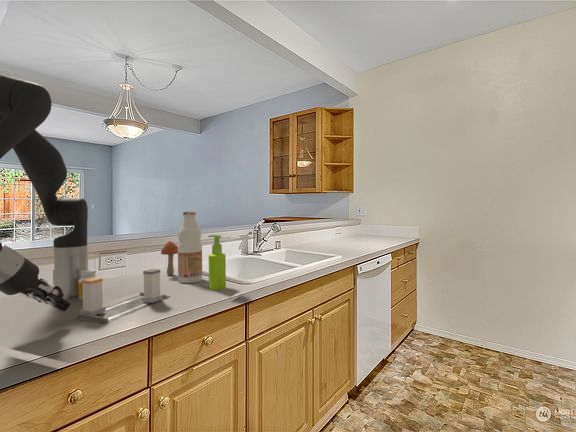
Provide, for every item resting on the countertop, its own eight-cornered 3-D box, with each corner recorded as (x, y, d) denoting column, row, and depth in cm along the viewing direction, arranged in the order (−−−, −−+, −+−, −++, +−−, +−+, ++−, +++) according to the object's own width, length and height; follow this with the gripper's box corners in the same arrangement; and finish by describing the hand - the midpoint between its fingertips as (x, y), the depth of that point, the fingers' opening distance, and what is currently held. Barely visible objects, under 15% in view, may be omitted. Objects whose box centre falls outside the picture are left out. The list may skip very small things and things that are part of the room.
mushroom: (173, 272, 140) (172, 239, 139) (184, 274, 135) (183, 240, 135) (157, 275, 133) (156, 241, 133) (167, 277, 129) (167, 242, 128)
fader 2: (142, 301, 92) (141, 271, 92) (152, 297, 96) (151, 268, 96) (152, 302, 91) (152, 272, 91) (162, 298, 95) (161, 269, 94)
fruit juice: (173, 283, 120) (172, 212, 119) (185, 277, 129) (184, 211, 128) (195, 284, 118) (194, 212, 117) (206, 278, 127) (205, 211, 126)
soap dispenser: (217, 287, 114) (216, 233, 113) (229, 290, 109) (228, 235, 109) (203, 290, 109) (203, 235, 108) (215, 294, 105) (215, 236, 104)
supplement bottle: (84, 304, 95) (83, 273, 94) (75, 301, 97) (74, 271, 97) (102, 299, 100) (101, 270, 99) (93, 297, 102) (92, 268, 102)
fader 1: (80, 314, 82) (79, 280, 81) (94, 309, 85) (93, 276, 85) (91, 316, 80) (90, 281, 80) (105, 311, 84) (104, 278, 84)
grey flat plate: (73, 323, 80) (73, 314, 80) (144, 296, 102) (144, 290, 102) (104, 328, 76) (104, 319, 76) (171, 300, 99) (171, 293, 99)
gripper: (39, 256, 64) (95, 296, 76) (0, 252, 69) (58, 291, 81) (10, 287, 59) (74, 325, 71) (-30, 281, 64) (37, 318, 76)
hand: (66, 307), depth 76 cm, fingers closed
